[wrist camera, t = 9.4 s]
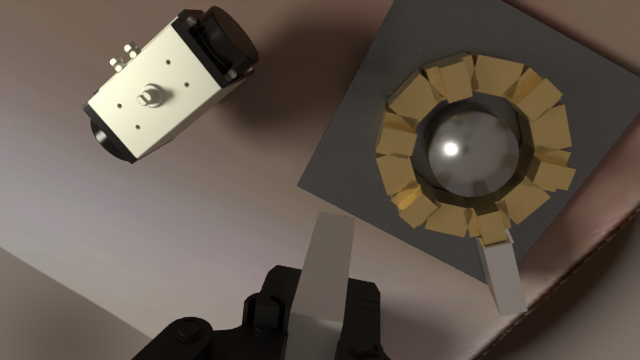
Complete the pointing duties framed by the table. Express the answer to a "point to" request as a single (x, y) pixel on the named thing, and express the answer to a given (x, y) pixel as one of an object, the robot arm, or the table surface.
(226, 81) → the pneumatic valve
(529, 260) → the table surface
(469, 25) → the base plate
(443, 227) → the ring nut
